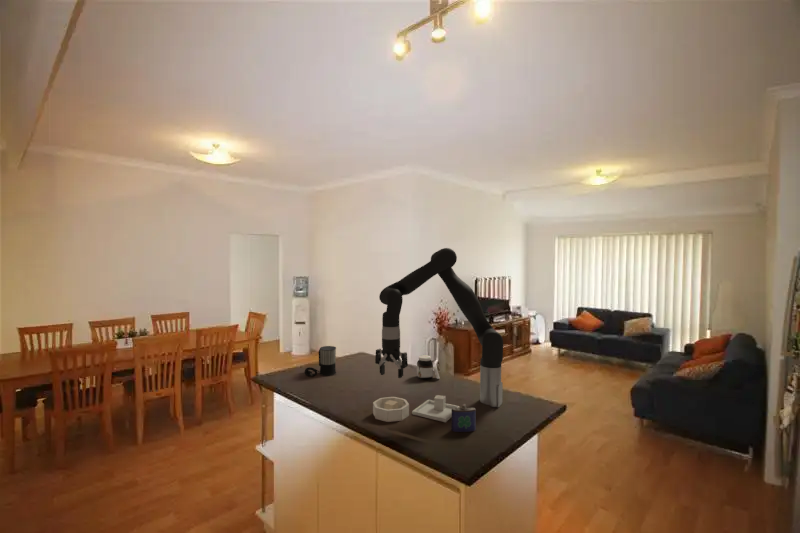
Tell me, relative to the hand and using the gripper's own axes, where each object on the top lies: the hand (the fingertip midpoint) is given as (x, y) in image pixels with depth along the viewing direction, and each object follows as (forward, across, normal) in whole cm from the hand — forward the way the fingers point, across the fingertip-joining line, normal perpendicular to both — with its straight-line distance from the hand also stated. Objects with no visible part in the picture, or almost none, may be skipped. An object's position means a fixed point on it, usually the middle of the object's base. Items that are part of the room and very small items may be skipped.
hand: (391, 376), depth 153 cm
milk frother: (+17, +64, -27) cm, 72 cm away
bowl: (+17, 0, 0) cm, 17 cm away
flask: (+17, -31, -2) cm, 35 cm away
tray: (+17, -15, -12) cm, 25 cm away
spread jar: (+17, +9, -53) cm, 57 cm away
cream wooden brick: (+16, 0, 0) cm, 16 cm away
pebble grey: (+16, -15, -16) cm, 27 cm away
